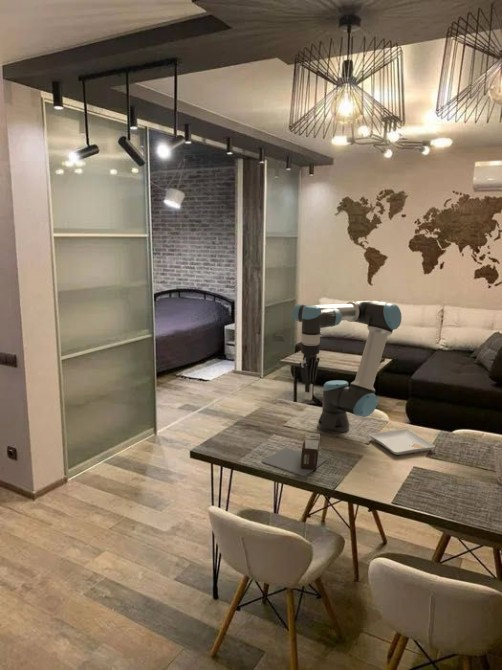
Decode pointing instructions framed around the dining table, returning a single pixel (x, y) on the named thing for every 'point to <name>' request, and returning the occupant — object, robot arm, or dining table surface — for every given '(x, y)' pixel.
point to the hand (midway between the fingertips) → (308, 398)
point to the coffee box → (310, 451)
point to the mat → (290, 461)
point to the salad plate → (401, 441)
